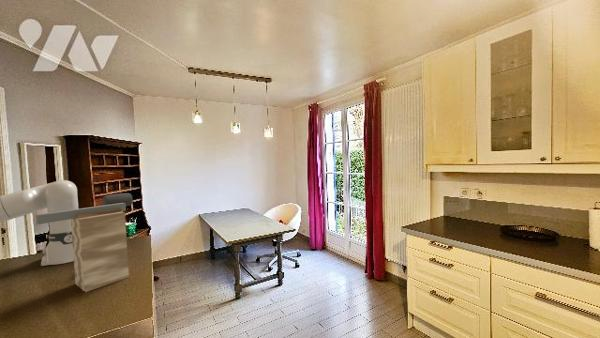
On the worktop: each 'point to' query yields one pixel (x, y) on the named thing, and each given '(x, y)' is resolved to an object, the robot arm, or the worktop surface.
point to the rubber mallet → (117, 199)
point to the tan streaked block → (99, 248)
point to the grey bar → (75, 213)
